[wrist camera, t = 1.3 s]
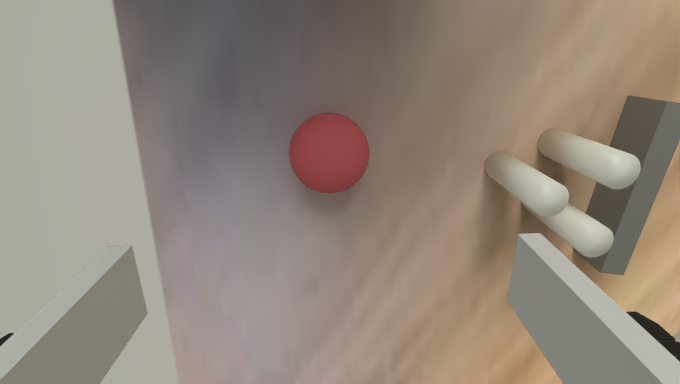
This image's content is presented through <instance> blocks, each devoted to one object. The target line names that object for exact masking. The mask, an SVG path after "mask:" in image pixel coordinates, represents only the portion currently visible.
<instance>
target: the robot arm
mask: <svg viewBox="0 0 680 384" xmlns="http://www.w3.org/2000/svg"><path fill="white" fill-rule="evenodd" d="M508 303H509V304H510V306H511V307H512V308H513V310H514V311H515V313H516V314H517V316H518V317H519V319H520V320H521V322H522V323H523V325H524V326H525V328H526V329H527V331H528V332H529V334H530V335H531V337H532V338H533V340H534V341H535V342H536V344H537V345H538V347H539V348H540V350H541V351H542V353H543V354H544V356H545V357H546V359H547V360H548V362H549V363H550V365H551V366H552V368H553V369H554V371H555V372H556V374H557V375H558V376H559V378H560V379H561V381H562V382H563V384H680V343H679V342H676V341H675V338H674V337H672V336H671V335H670V334H669V333H668V332H667V331H665V330H664V329H663V328H662V327H661V326H660V325H659V324H657V323H655V322H653V321H652V320H650V319H648V318H646V317H645V316H643V315H641V314H639V313H637V312H625V311H624V310H623V309H622V308H621V307H620V306H619V305H618V304H617V303H615V302H614V301H613V300H612V299H611V298H610V297H609V296H608V295H607V294H606V293H605V292H604V291H602V290H601V289H600V288H599V287H598V286H597V285H596V284H595V283H594V282H593V281H592V280H590V279H589V278H588V277H587V276H586V275H585V274H584V273H583V272H582V271H581V270H580V269H579V268H577V267H576V266H575V265H574V264H573V263H572V262H571V261H570V260H569V259H568V258H567V257H565V256H564V255H563V254H562V253H561V252H560V251H559V250H558V249H557V248H556V247H555V246H554V245H552V244H551V243H550V242H549V241H548V240H547V239H546V238H545V237H544V236H543V235H542V234H540V233H526V234H518V235H517V242H516V249H515V256H514V262H513V269H512V276H511V283H510V289H509V296H508ZM146 315H147V309H146V304H145V300H144V296H143V291H142V287H141V283H140V278H139V274H138V270H137V266H136V262H135V257H134V253H133V249H132V246H109V247H108V248H107V249H106V250H105V251H103V252H102V253H101V254H100V255H99V256H98V257H97V258H96V259H95V260H94V261H93V262H91V263H90V264H89V265H88V266H87V267H86V268H85V269H84V270H83V271H82V272H81V273H80V274H78V275H77V276H76V277H75V278H74V279H73V280H72V281H71V282H70V283H69V284H68V285H66V286H65V287H64V288H63V289H62V290H61V291H60V292H59V293H58V294H57V295H56V296H54V297H53V299H51V300H50V301H49V302H48V303H47V304H46V305H45V306H44V307H43V308H41V309H40V310H39V311H38V312H37V313H36V314H35V315H34V316H33V317H32V318H31V319H30V320H28V321H27V322H26V323H25V324H24V325H23V326H22V327H21V328H20V329H19V330H18V331H17V332H15V333H9V334H7V335H6V336H4V337H3V338H1V339H0V384H100V383H101V381H102V380H103V378H104V376H105V375H106V374H107V372H108V371H109V369H110V368H111V366H112V365H113V363H114V362H115V360H116V359H117V358H118V356H119V355H120V353H121V351H122V350H123V349H124V347H125V346H126V344H127V343H128V341H129V340H130V338H131V337H132V335H133V334H134V332H135V331H136V329H137V328H138V326H139V325H140V324H141V322H142V321H143V319H144V318H145V316H146Z"/></svg>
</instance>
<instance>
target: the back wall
mask: <svg viewBox="0 0 680 384" xmlns="http://www.w3.org/2000/svg"><path fill="white" fill-rule="evenodd" d="M679 140H680V103H676V102H669V101H662V100H655V99H648V98H641V97H634V96H628V98H627V101H626V103H625V106H624V109H623V112H622V115H621V117H620V120H619V123H618V126H617V128H616V131H615V134H614V137H613V140H612V142H611V145H610V147H612V148H615V149H618V150H621V151H624V152H627V153H629V154H632V155H634V156H636V157H637V158H638V160H639V161H640V165H641V169H640V173H639V176H638V177H637V179H636V180H635V181H634V182H633V183H632V184H631V185H630V186H628V187H626V188H623V189H618V190H617V189H611V188H609V187H607V186H605V185H603V184H601V183H599V182H597V184H596V187H595V190H594V193H593V195H592V198H591V201H590V204H589V207H588V209H587V212H586V214H587V215H589V216H590V217H592V218H593V219H595V220H596V221H598V222H600V223H601V224H603V225H604V226H606V227H607V228H609V229H610V230H611V231H612V233H613V236H614V240H613V244H612V246H611V248H610V249H609V250H608V251H607V252H606V253H605V254H603V255H601V256H599V257H594V258H590V257H586V256H584V255H582V254H581V253H580V252H579V251H577V250H576V249H575V248H573V250H574V251H575V252H576V253H577V254H579V255H580V256H581V257H582V258H584V259H585V260H586V261H587V262H588V263H590V264H591V265H592V266H593V267H594V268H596V269H597V270H598V271H599V272H601V273H610V274H619V275H624V272H625V270H626V268H627V265H628V263H629V260H630V258H631V256H632V253H633V251H634V248H635V246H636V243H637V241H638V239H639V236H640V234H641V231H642V229H643V227H644V224H645V222H646V219H647V217H648V215H649V212H650V210H651V207H652V205H653V202H654V200H655V198H656V195H657V193H658V190H659V188H660V186H661V183H662V181H663V178H664V176H665V173H666V171H667V169H668V166H669V164H670V161H671V159H672V157H673V154H674V152H675V149H676V147H677V145H678V142H679Z"/></svg>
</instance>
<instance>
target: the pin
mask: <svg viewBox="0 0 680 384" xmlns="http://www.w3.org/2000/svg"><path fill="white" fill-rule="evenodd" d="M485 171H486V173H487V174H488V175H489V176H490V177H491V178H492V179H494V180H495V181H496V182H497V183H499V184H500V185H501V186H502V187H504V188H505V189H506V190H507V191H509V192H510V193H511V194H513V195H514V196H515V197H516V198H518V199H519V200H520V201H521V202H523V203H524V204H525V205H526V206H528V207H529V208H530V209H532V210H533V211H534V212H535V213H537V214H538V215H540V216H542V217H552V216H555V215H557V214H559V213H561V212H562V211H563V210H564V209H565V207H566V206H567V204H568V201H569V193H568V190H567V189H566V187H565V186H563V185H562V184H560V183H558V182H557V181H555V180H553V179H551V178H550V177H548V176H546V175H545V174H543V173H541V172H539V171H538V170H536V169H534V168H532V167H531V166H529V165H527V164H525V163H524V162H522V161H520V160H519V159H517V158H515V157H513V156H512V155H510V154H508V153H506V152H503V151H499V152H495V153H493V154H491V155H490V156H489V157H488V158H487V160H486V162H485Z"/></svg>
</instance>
